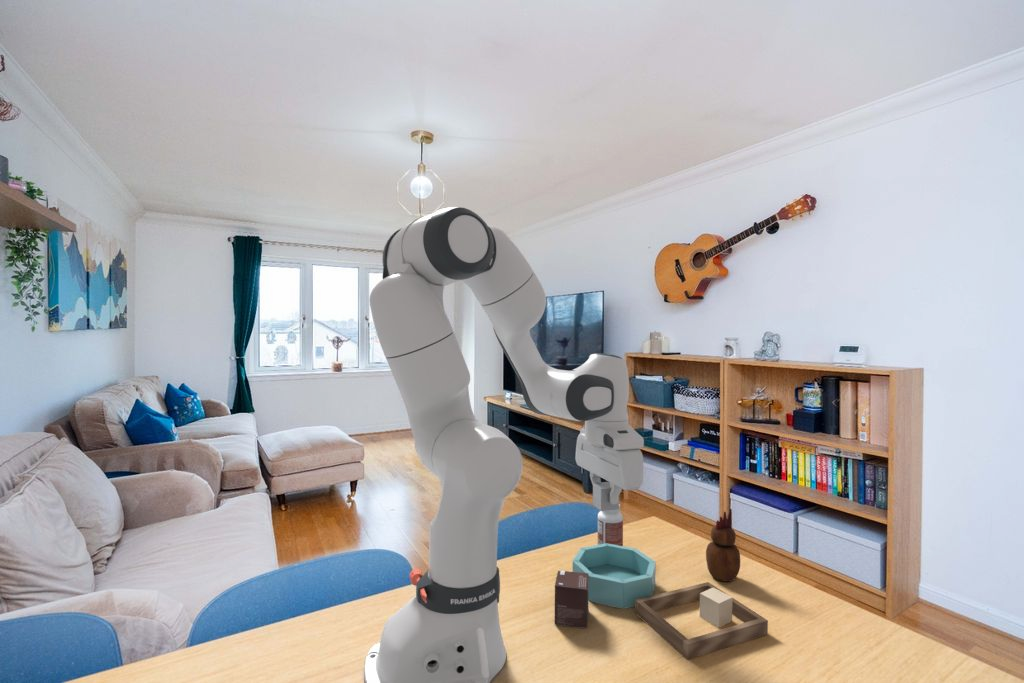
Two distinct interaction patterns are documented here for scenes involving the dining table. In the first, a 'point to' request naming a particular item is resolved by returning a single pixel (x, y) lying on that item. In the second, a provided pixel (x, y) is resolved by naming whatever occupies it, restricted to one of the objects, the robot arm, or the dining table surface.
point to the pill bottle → (610, 527)
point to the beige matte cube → (716, 607)
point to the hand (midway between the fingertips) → (605, 498)
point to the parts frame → (704, 643)
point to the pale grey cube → (603, 496)
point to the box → (571, 599)
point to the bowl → (616, 574)
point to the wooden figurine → (723, 550)
